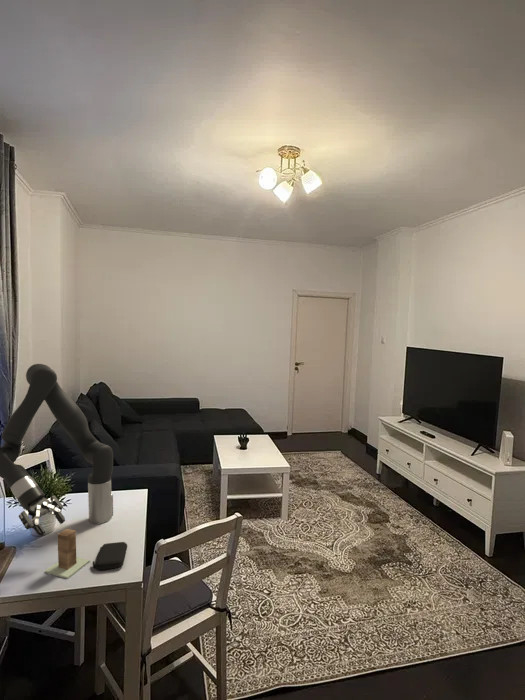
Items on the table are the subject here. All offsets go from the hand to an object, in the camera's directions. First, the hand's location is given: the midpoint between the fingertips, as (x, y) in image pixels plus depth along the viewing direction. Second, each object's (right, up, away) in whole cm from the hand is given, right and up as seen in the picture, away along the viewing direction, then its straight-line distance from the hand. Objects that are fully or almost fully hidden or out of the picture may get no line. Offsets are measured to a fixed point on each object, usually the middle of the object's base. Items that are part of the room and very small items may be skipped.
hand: (53, 528), depth 141 cm
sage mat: (+6, -13, -1) cm, 14 cm away
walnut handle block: (+5, -13, -1) cm, 14 cm away
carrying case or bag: (+18, -13, +4) cm, 23 cm away
